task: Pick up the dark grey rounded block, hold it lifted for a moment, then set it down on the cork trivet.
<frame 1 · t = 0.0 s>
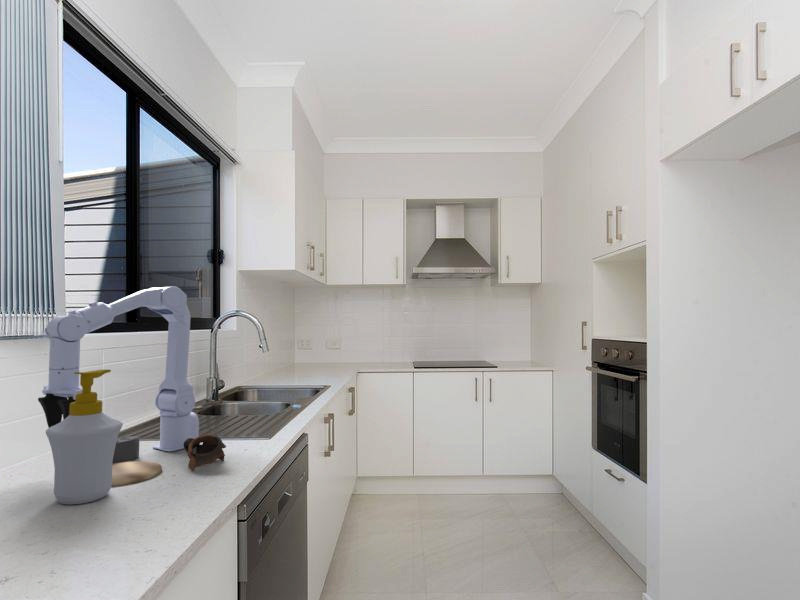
hand: (62, 429, 110), 10 cm above the worktop, tool pointing down, fingers open, 7 cm apart
soap bottle: (83, 499, 95), on the worktop
pottery mug: (203, 466, 117), on the worktop
cork trivet: (122, 474, 110), on the worktop
dark grey rounded block: (119, 460, 121), on the worktop
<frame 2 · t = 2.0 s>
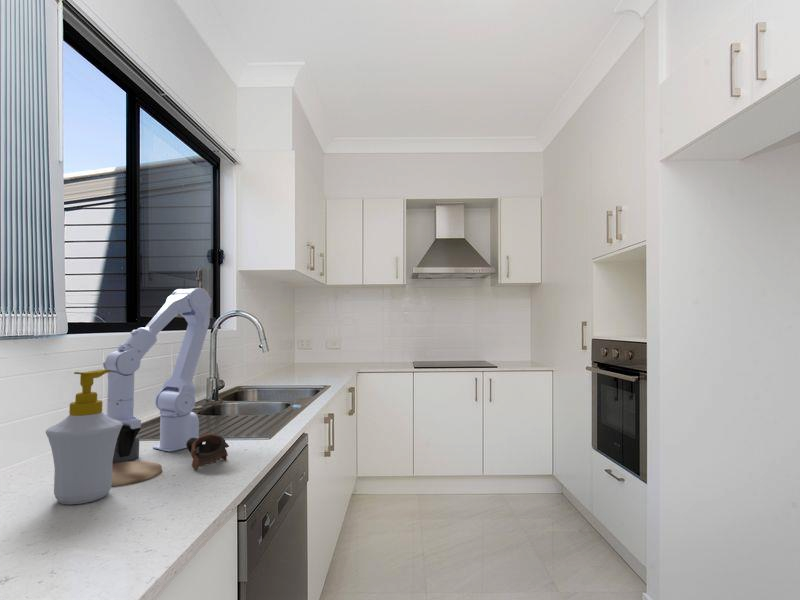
hand: (119, 454, 121), 1 cm above the worktop, tool pointing down, fingers closed on dark grey rounded block, 4 cm apart
dark grey rounded block: (119, 460, 121), on the worktop, touching gripper
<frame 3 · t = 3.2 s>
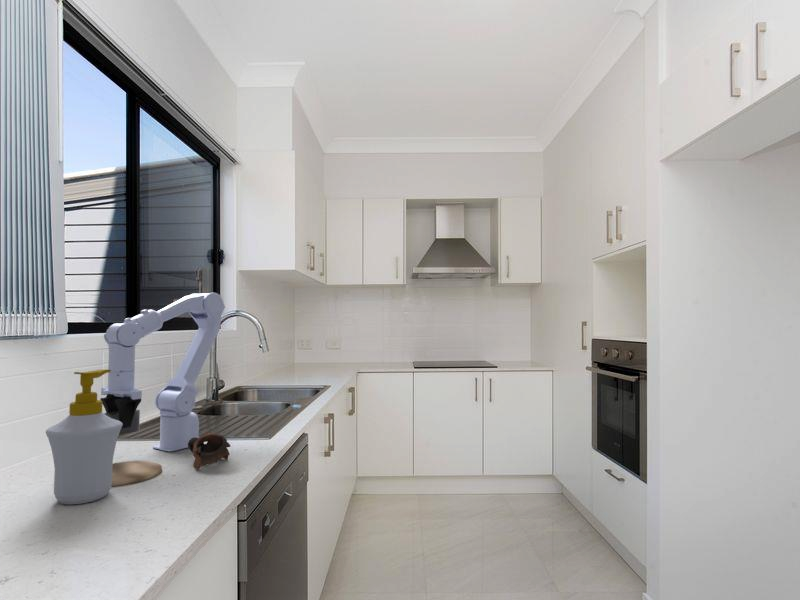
hand: (120, 426, 121), 8 cm above the worktop, tool pointing down, fingers closed on dark grey rounded block, 4 cm apart
dark grey rounded block: (119, 432, 121), point 7 cm above the worktop, touching gripper
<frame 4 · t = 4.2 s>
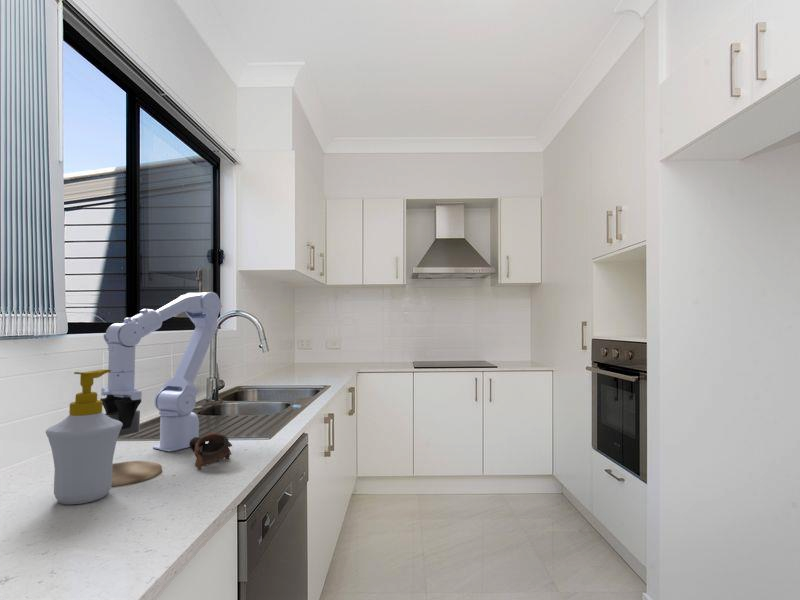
hand: (119, 427, 120), 8 cm above the worktop, tool pointing down, fingers closed on dark grey rounded block, 4 cm apart
dark grey rounded block: (119, 433, 120), point 7 cm above the worktop, touching gripper
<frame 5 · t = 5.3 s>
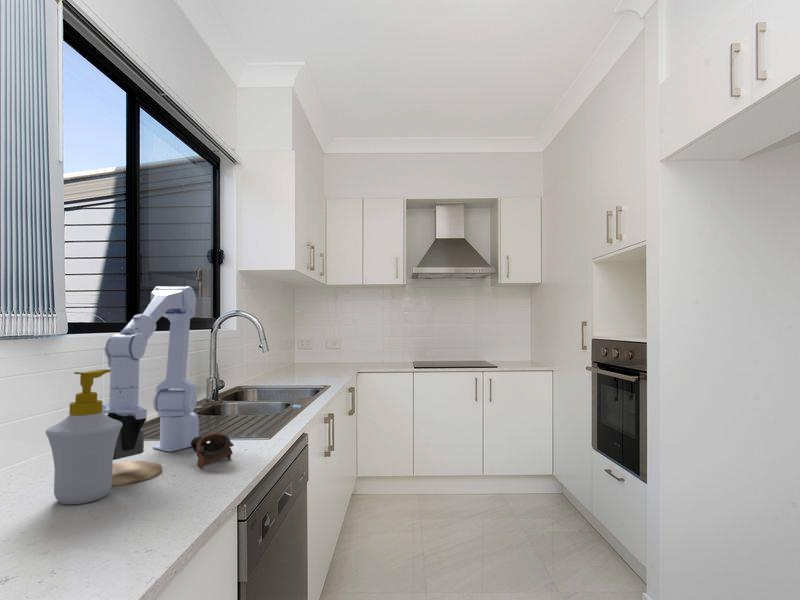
hand: (122, 448, 110), 6 cm above the worktop, tool pointing down, fingers closed on dark grey rounded block, 4 cm apart
dark grey rounded block: (121, 455, 110), point 4 cm above the worktop, touching gripper
when the fingers open (3 cm above the worktop, at t = 6.2 s): dark grey rounded block stays where it is, resting on cork trivet.
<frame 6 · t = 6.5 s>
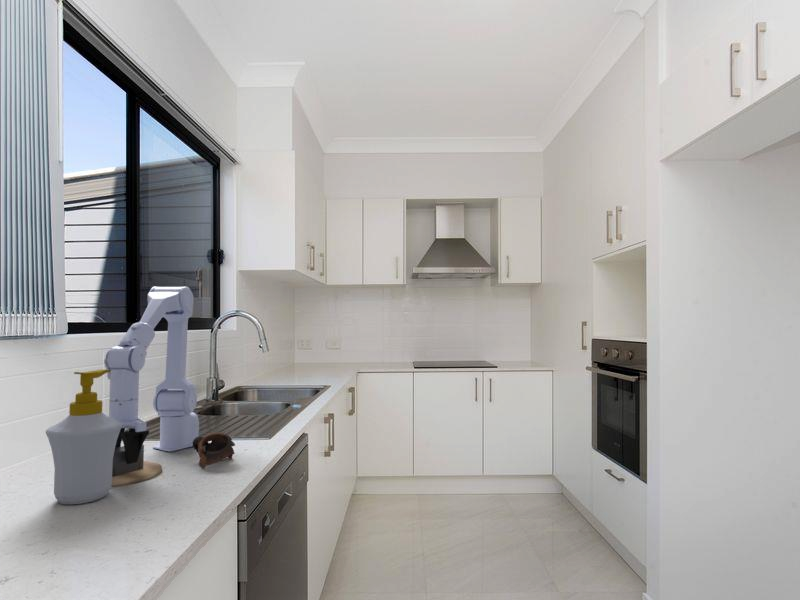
hand: (122, 460, 110), 3 cm above the worktop, tool pointing down, fingers open, 7 cm apart
dark grey rounded block: (121, 471, 109), point 1 cm above the worktop, touching cork trivet
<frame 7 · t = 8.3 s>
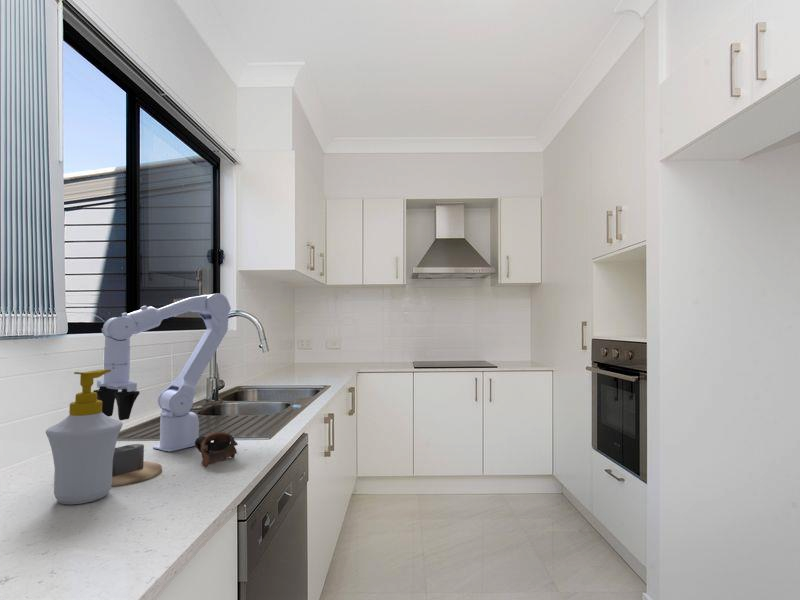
hand: (115, 418, 124), 10 cm above the worktop, tool pointing down, fingers open, 7 cm apart
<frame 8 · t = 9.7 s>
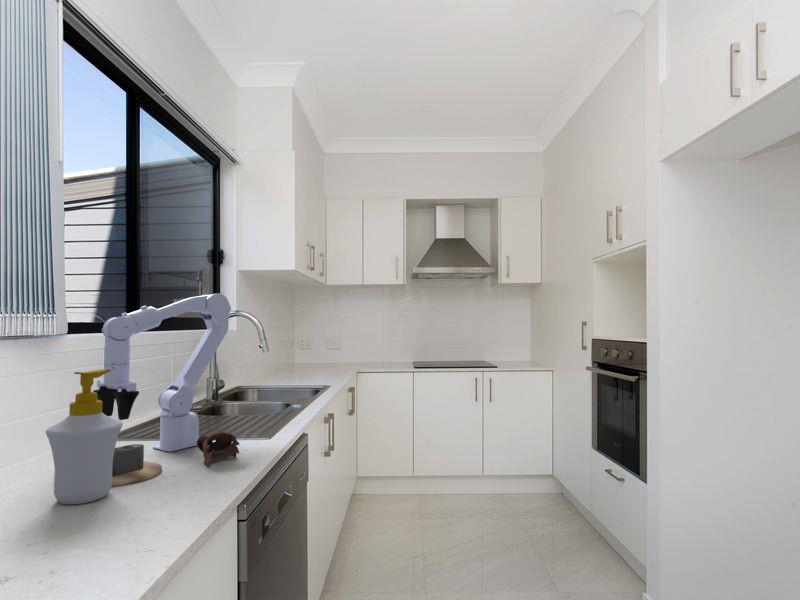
hand: (115, 417, 124), 10 cm above the worktop, tool pointing down, fingers open, 7 cm apart
at the end: dark grey rounded block inside the target area on the cork trivet (0.2 cm from its centre), point 0.8 cm above the cork trivet's base; dark grey rounded block tilted 0°; the gripper is holding nothing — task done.
